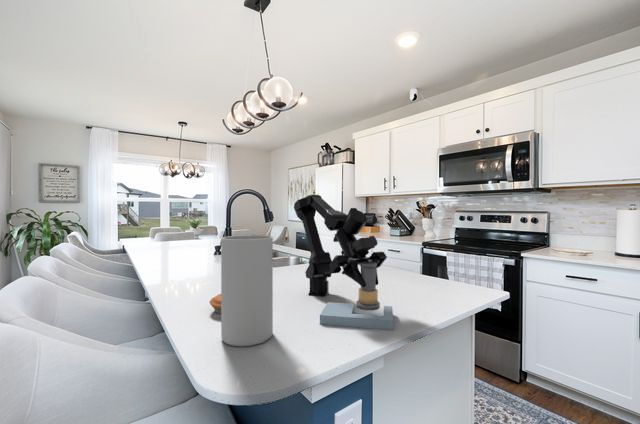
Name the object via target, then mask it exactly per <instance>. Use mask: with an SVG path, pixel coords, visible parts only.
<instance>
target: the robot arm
mask: <svg viewBox="0 0 640 424" xmlns="http://www.w3.org/2000/svg"><path fill="white" fill-rule="evenodd" d="M293 209H294V212H295V215H296V217H297V219H299V220H300V221H301V222H302V225H303V228H304V232H305V236H306V240H307V244H308V247H309V251H310V256H309V260H308V267H307V268H306V269H305V271H304V273H305V277H306V278H307V279H309V292H308V294H307V295H308V296H320V297H326V295H327V294H328V293H329V289H330V288H329V287H330V285H329V280H328V278H331V277H332V274H338V273H341V274H342V275H346V277H348V278H349V279H351V280H352V281H354V282H355V283H357V284H359V285H360V287H361V286H362V287H365V286H366V284H365V282H364V279H363V277H362V275H361V270H360V269H359V266H360V262H365V261H369V262H376V263H377V266H376V286H378V285H379V278H378V277H379V276H378V268H380V267H381V266H382V265H383V264H384V262H385V261H386V260H387V258H388V257H387V255H386V252H385V251H373V252H372V253H371V255H370V256H367V255H369V253H370V251H369V250H371V249H375V248H376V247H377V246H378V243H379V242H378V240H377V238H376V237H375V236H374V235H369V237H360V238H358V239H357V237H356V235H359V233H360V232H361V231H362V229H363V227H364V226H365V224H367V221H368V216H367V215H366V214H365V213H363V211H361V210H359V209H358V208H356V207H350V209H349V211H348V213H347V214H346V213H345V212H342V211H339V210H336V209H334V207H332V206H331V205H330V204H329V203H328V202H327V201H326V200H324V199H323V198H322V196H321V195H319V194H309V195H307V196H305V197H302V198H300V199H298V200H296V201H295V202H294V204H293ZM316 213H318V214H319V215H320V216H321V217H322V218H323V219H324V222H323V223H324V225H325V227H326V228H327V230H328V231H330V232H333V231H336V233H334V237H333V242H334V243H338V244H339V246H340V248H341V251H340V253H341V254H339V255H335V256H334V257H333V259H332V257H331V253H330V252H329V251H325V250H324V248H323V245H322V242H321V237H320V234H319V231H318V227H317V224H316V221H315V216H316ZM341 267H342V268H341Z"/></svg>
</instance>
